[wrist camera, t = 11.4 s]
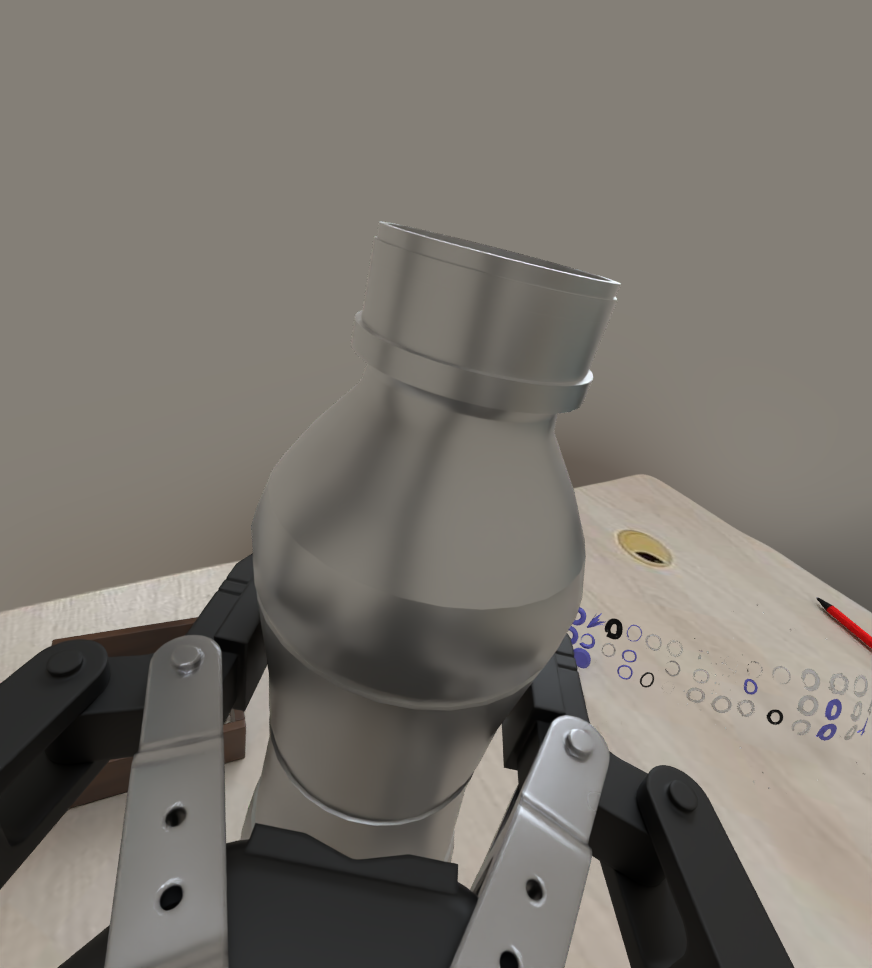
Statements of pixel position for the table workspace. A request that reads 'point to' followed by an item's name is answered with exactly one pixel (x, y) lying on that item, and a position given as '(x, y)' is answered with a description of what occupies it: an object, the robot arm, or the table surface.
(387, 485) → the silver metal bottle
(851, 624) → the pen
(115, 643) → the bottle stand
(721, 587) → the table surface
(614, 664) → the table surface
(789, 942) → the table surface
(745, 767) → the table surface
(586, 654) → the ring set
